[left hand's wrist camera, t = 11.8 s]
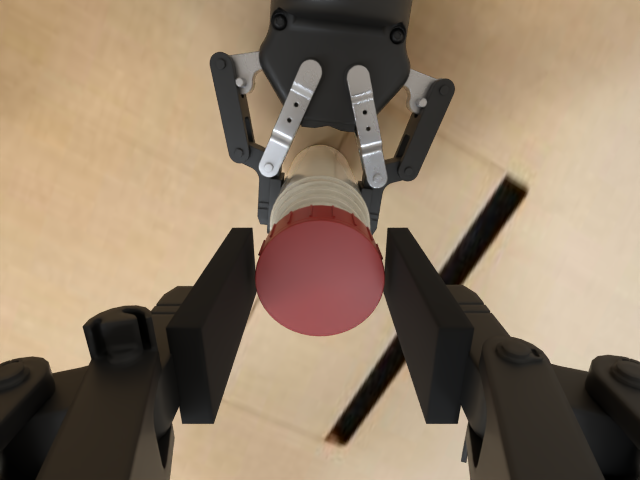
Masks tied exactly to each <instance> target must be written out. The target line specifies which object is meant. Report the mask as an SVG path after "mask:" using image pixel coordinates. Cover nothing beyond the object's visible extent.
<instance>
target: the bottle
mask: <svg viewBox="0 0 640 480" xmlns="http://www.w3.org/2000/svg"><path fill="white" fill-rule="evenodd" d="M310 205H313V206H314V205H325V206H332V205H333V206H334V207H337V208H340V209H343V210H345V211H347V212H349V213H351V214H352V213H353V214H354V216H355V217H357V218H358V219H359V220H360V221H362V222H363V223H364V224H365V226H366V227H367V226H368V227H369V229H370V217H369V212H368V208H367V206H366V203H365V201H364V199H363V196H362V194H361V192H360V189H359V187H358V185H357V182H356V180H355V178H354V175H353V173H352V171H351V168H350V166H349V164H348V161H347V160H346V158H345V157H344V156H343V155H342V154H341V153H340V152H339V151H338V150H336V149H335V148H333V147H330V146H326V145H314V146H310V147H308V148H305V149H304V150H302V151H301V152H300V153H298V155H297V156H296V157H295V158H294V160H293V162H292V164H291V166H290V168H289V171H288V173H287V175H286V178H285V180H284V182H283V185H282V187H281V189H280V192H279V194H278V196H277V199H276V201H275V203H274V206H273V209H272V211H271V217H270V231H271V230H272V227H273V225H274V223H275V224H276V223H277V222H278V221H279V220H281V219H282V218H283V217H284V216H286V215H287V214H289V213H290V211H292V212H293V211H295V210H297V209H300V208H303V207H307V206H310Z"/></svg>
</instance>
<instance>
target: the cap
mask: <svg viewBox="0 0 640 480" xmlns="http://www.w3.org/2000/svg"><path fill="white" fill-rule="evenodd" d="M258 255H259V256H260V257H259V259H258V262H257V266H256V271H255V284H256V290H257V294H258V296H259V299H260V301H261V303H262V305H263V306H264V308H265V309H266V311H267V312H268V313H269V315H270V316H271V317H272V318H274V319H275V320H276V321H277V322H278V323H280V324H281V325H283V326H284V327H286V328H288V329H290V330H292V331H294V332H298V333H301V334H305V335H310V336H329V335H335V334H339V333H343V332H345V331H348V330H350V329H352V328H354V327H356V326H357V325H359V324H360V323H362V322H363V321H364V320H365V319H366V318H368V317H369V315H370V314H371V313H372V312H373V311H374V309H375V308H376V306H377V305H378V303H379V301H380V299H381V296H382V293H383V290H384V284H385V272H384V266H383V262H382V259H383V257H382V255H381V252H380V250H379V247H378V244H376V243H375V241H374V239H373V236H372V234H371V232H370V229H369V227H368V226H367V227H366V226H365V224H364V223H363V222H362V221H360V220H359V219H358V218H357V217H355V216H354V214H353V213H352V214H351V213H349V212H347V211H345V210H343V209H340V208H337V207H334V206H333V205H332V206H325V205H314V206H313V205H310V206H307V207H303V208H300V209H297V210H295V211H293V212H292V211H290V213H289V214H287V215H286V216H284V217H283V218H282V219H281V220H279V221H278V222H277V223H276V224H275V223H274V225H273V227H272V230H271V231H270V232H269V234H268V236H267V238H266V240H264V241H263V244H262V246H261V249H260V252H259V254H258Z"/></svg>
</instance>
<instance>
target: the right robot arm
mask: <svg viewBox="0 0 640 480" xmlns="http://www.w3.org/2000/svg"><path fill="white" fill-rule="evenodd" d="M411 6H412V0H271V11H270V25H269V30H268V33H267V36H266V38H265V40H264V41H263V43H262V45H261V47H260V50H259V51H258V52H251V53H244V54H237V55H228V54H225V53H223V52H217V53H215V54H213V56H212V57H211V59H210V68H211V72H212V77H213V82H214V86H215V91H216V96H217V100H218V105H219V110H220V114H221V119H222V124H223V128H224V133H225V138H226V142H227V147H228V152H229V156H230V158H231V159H232V160H233V161H234V162H236V163H243V164H245V165H247V166H249V167H251V168H253V169H254V170H255V171H256V172H257V173H258V176H259V198H258V219H259V222H260V224H264V225H267V234H269V232H270V217H271V211H272V209H273V206H274V203H275V201H276V199H277V196H278V194H279V192H280V189H281V187H282V185H283V182H284V174H285V173H281V171H282V164H283V161H284V159H285V157H286V155H287V153H288V150H289V148H290V146H291V144H292V142H293V140H294V138H295V135H296V133H297V131H298V129H299V127H300V125H301V126H302V127H311V128H317V127H323V126H331V127H333V128H336V129H338V130H341V131H348V132H354V135H355V139H356V144H357V147H358V151H359V156H360V160H361V165H362V169H363V176H362V181H358V187H359V189H360V192H361V194H362V196H363V199H364V201H365V203H366V206H367V208H368V212H369V217H370V232H371V234H372V235H373V234H374V232H375V230H376V229H377V223H378V217H379V211H380V205H381V199H382V193H383V190H384V188H385V187H386V186H387V185H388V184H390V183H393V182H397V181H401V180H404V181H412V180H414V179H415V178H416V177H417V175H418V173H419V171H420V168H421V166H422V164H423V162H424V159H425V157H426V155H427V153H428V150H429V148H430V146H431V144H432V142H433V139H434V137H435V135H436V133H437V130H438V128H439V126H440V124H441V121H442V119H443V117H444V115H445V112H446V110H447V108H448V106H449V103H450V101H451V99H452V97H453V94H454V91H455V86H454V84H453V82H452V81H451V80H449V79H435V78H432V77H430V76H427V75H425V74H422V73H420V72H417V71H415V70H412V69H410V62H409V59H408V56H407V51H406V36H407V30H408V24H409V18H410V12H411ZM262 70H263V72H264V73H265V75H266V77H267V79H268V80H269V82H270V84H271V86H272V87H273V89H274V91H275V92H276V94H277V96H278V98H279V99H280V101H281V103H282V105H283V108H282V111H281V113H280V115H279V117H278V120H277V122H276V124H275V127H274V129H273V131H272V134H271V137H270V140H269V142H268V144H267V147H266V148H264V147H262V146H260V145H258V144H256V143H255V140H254V135H253V129H252V124H251V119H250V113H249V108H248V103H247V97H246V94H249V93H251V92H252V91H253V90H254V88H255V78H256V75H257V74H258V73H259V72H260V71H262ZM402 87H404V88H405V89H406V91H407V101H406V106H407V108H408V110H409V111H410V112H412V115H411V117H410V120H409V122H408V124H407V127H406V129H405V132H404V134H403V136H402V139H401V141H400V144H399V146H398V148H397V151H396V153H395V156H394V158H391V159H387V160H384V157H383V151H382V140H381V135H380V130H379V125H378V120H377V114H378V113H379V112H380V111H381V110H382V109H383V108H384V107H385V106H386V104H387V103H388V102H389V101H390V100H391V99H392V98H393V97H394V96H395V95H396V93H397V92H398V91H399V90H400V89H401V88H402Z"/></svg>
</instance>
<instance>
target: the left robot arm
mask: <svg viewBox="0 0 640 480" xmlns="http://www.w3.org/2000/svg"><path fill="white" fill-rule="evenodd" d="M256 292H257V290H256V284H255V258H254V243H253V229H252V228H232V229H231V231H230V232H229V234H228V235H227V237H226V238H225V240H224V241H223V243H222V244H221V246H220V247H219V249H218V250H217V252H216V253H215V255H214V256H213V258H212V259H211V261H210V262H209V264H208V265H207V267H206V268H205V270H204V271H203V273H202V274H201V276H200V277H199V279H198V280H197V282H196V283H195V285H194V286H177V287H175V288H174V289H172V290H171V291H169V292H167V293H166V294H164V295H163V297H162V298H161V299H160V300H159V302H158V303H157V304H156V306H155V307H154V308H153V309H152V311H150V310H148V309H147V308H146V307H141V306H137V305H135V306H122V307H117V308H112V309H109V310H107V311H104V312H101V313H99V314H97V315H96V316H94V317H92V318H91V319H89V320H88V321H87V322H86V323H85V324H84V326H83V330H84V333H85V337H86V341H87V344H88V348H89V352H90V356H91V362H90V364H89V366H85V367H81V368H76V369H71V370H66V371H62V372H57V373H52V372H51V369H50V365H49V362H48V361H46V360H45V359H44V358H40V357H25V358H17V359H13V360H11V361H10V360H9V361H6V362H3V363H1V364H0V480H170V473H171V464H172V455H173V447H174V431H173V426H172V421H173V419H174V417H175V414H176V412H177V410H178V408H180V413H181V419H182V424H214V421H215V418H216V415H217V412H218V409H219V406H220V403H221V400H222V397H223V394H224V391H225V387H226V384H227V381H228V378H229V375H230V372H231V369H232V366H233V363H234V360H235V357H236V354H237V351H238V348H239V344H240V341H241V338H242V335H243V332H244V329H245V326H246V323H247V320H248V317H249V314H250V311H251V308H252V305H253V301H254V298H255V295H256ZM383 292H384V295H385V298H386V301H387V305H388V308H389V311H390V314H391V317H392V320H393V323H394V326H395V329H396V332H397V335H398V338H399V341H400V344H401V348H402V351H403V354H404V357H405V360H406V363H407V366H408V369H409V372H410V375H411V378H412V381H413V384H414V387H415V391H416V394H417V397H418V400H419V403H420V406H421V409H422V412H423V415H424V418H425V421H426V424H458V419H459V413H460V408H461V406H462V408H463V410H464V413H465V415H466V417H467V419H468V426H467V431H466V436H465V441H464V447H463V452H462V458H461V462H465V463H466V460H467V455H468V463H469V472H470V480H640V362H639V361H636V360H633V359H629V358H627V357H622V356H613V355H603V356H597V357H596V358H595V359H593V360H592V362H591V365H590V369H589V372H587V371H582V370H577V369H572V368H567V367H562V366H557V365H554V364H551V363H550V361H549V359H548V358H547V356H546V355H545V354H544V352H543V351H542V350H540V349H539V348H537V347H536V346H535V345H533V344H531V343H529V342H526V341H524V340H522V339H518V338H514V337H510V335H509V334H508V333H507V332H506V330H505V329H504V328H503V326H502V325H501V324H500V323H499V321H498V320H497V319H496V318H495V316H494V315H493V314H492V313H490V310H489V309H488V308H487V306H486V305H484V303H483V301H482V300H481V299H480V298H479V296H478V295H477V294H476V293H475V292H473V291H472V290H470V289H468V288H467V287H465V286H464V285H445V283H444V282H443V280H442V279H441V277H440V276H439V274H438V273H437V271H436V270H435V268H434V267H433V265H432V264H431V262H430V261H429V259H428V258H427V256H426V255H425V253H424V252H423V250H422V249H421V247H420V246H419V244H418V243H417V241H416V240H415V238H414V237H413V235H412V234H411V232H410V231H409V229H408V228H388V229H387V244H386V258H385V284H384V290H383Z"/></svg>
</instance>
